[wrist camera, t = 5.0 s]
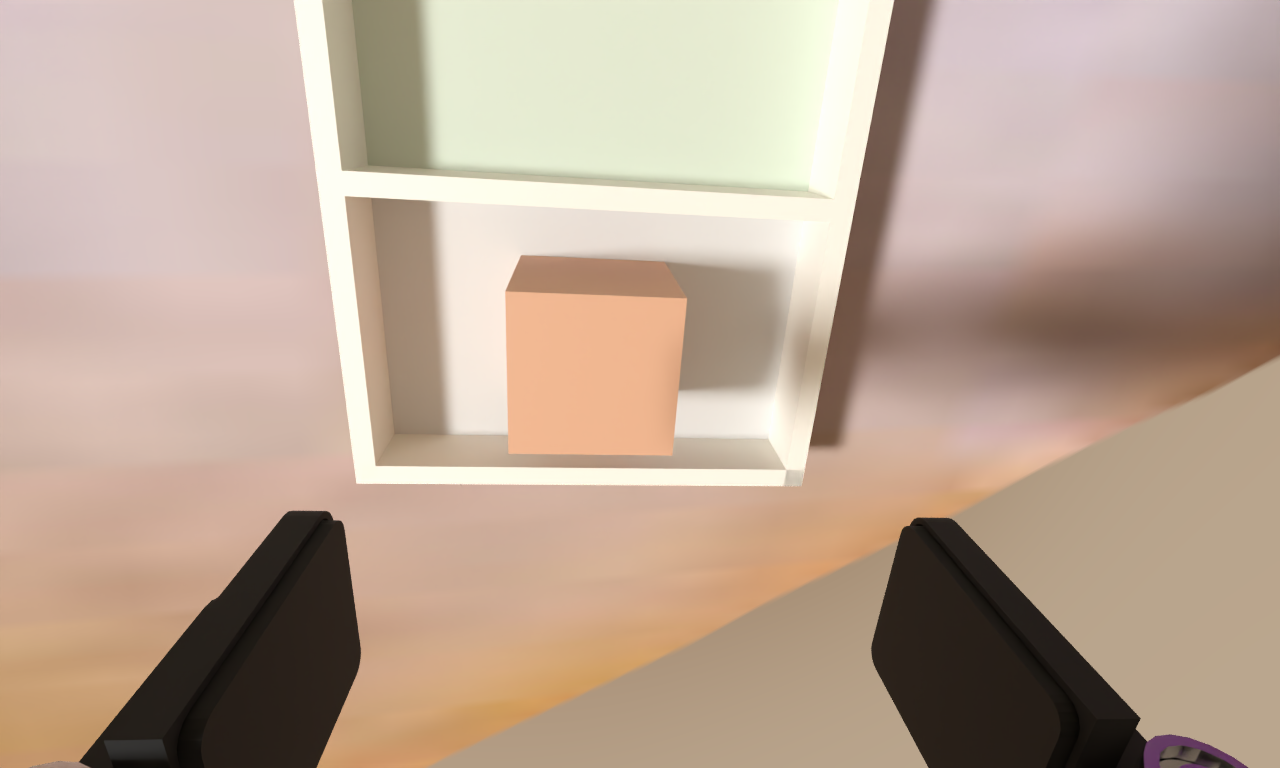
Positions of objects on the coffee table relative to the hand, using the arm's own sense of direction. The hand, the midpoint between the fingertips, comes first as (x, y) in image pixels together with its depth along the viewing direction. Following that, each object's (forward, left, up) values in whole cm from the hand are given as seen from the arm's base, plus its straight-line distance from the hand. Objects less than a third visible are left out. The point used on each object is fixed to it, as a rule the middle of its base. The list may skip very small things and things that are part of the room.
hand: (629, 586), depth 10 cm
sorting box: (-5, 0, -14) cm, 15 cm away
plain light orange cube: (0, 0, -13) cm, 13 cm away
